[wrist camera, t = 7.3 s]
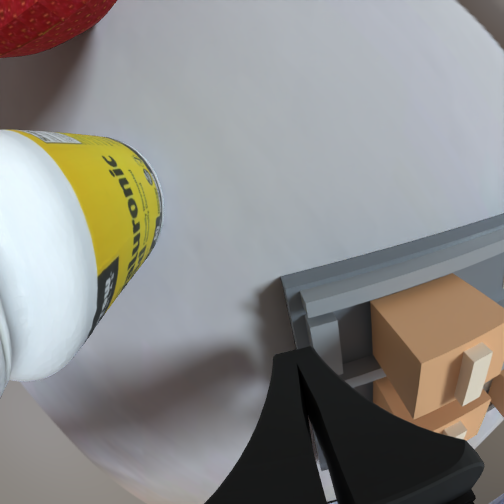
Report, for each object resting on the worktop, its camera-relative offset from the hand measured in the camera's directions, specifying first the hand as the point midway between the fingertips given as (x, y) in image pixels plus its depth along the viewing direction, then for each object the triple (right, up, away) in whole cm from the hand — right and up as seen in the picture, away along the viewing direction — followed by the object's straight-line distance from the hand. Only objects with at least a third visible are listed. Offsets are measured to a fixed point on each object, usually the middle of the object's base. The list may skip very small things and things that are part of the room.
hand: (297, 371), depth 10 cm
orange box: (+5, +2, +1) cm, 5 cm away
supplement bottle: (-7, +6, +1) cm, 10 cm away
